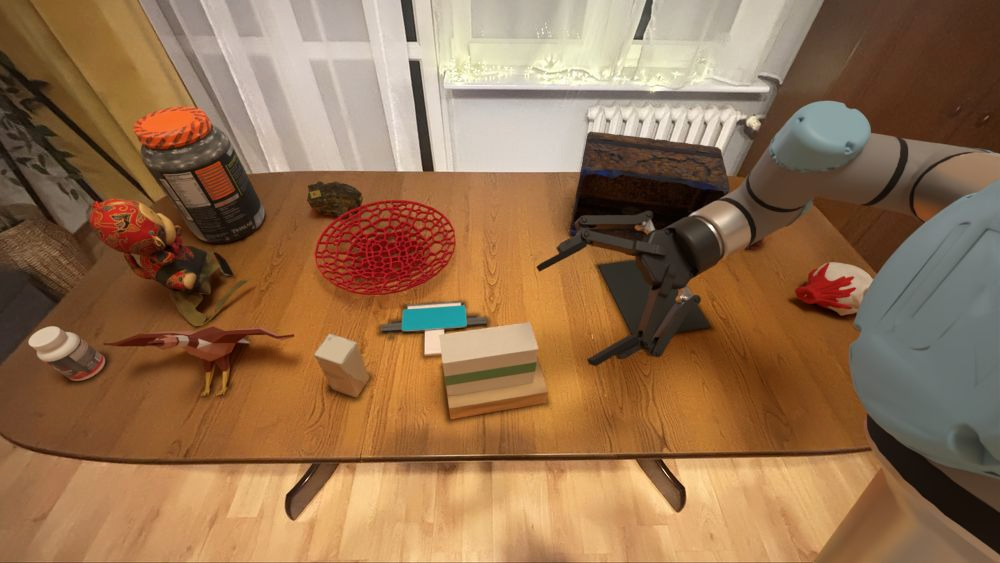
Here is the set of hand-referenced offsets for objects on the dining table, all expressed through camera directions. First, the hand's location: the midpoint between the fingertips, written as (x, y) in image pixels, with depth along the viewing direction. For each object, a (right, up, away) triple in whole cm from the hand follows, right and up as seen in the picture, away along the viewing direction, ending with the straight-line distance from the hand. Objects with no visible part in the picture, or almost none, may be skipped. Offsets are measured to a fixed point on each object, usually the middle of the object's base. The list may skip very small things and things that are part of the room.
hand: (564, 315), depth 53 cm
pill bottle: (-80, -11, +20) cm, 83 cm away
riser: (-9, -14, +19) cm, 25 cm away
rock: (-48, +22, +51) cm, 73 cm away
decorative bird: (-56, -11, +20) cm, 61 cm away
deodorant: (+50, +14, +46) cm, 70 cm away
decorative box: (+24, +18, +49) cm, 58 cm away
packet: (-10, -8, +12) cm, 18 cm away
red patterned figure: (-68, +1, +31) cm, 75 cm away
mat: (+23, +1, +34) cm, 41 cm away
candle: (+59, 0, +34) cm, 68 cm away
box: (-34, -13, +19) cm, 41 cm away
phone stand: (-21, -5, +27) cm, 34 cm away
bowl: (-33, +9, +40) cm, 52 cm away
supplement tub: (-72, +18, +46) cm, 88 cm away
